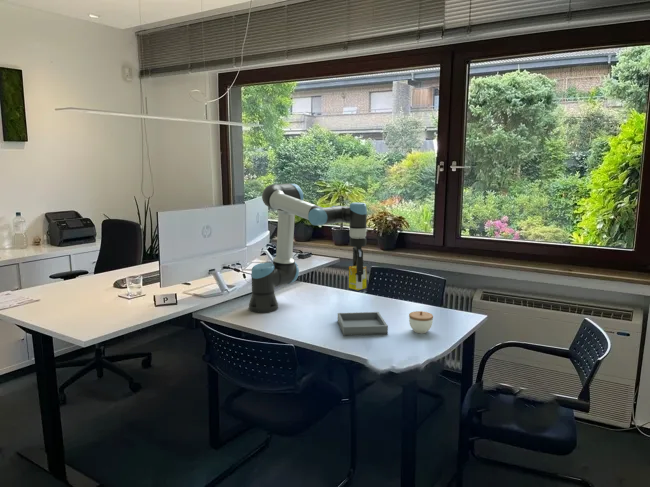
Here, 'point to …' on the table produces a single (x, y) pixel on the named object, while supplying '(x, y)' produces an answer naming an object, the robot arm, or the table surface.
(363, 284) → the supplement box
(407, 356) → the table surface
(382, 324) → the desk tray
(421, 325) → the lidded jar
